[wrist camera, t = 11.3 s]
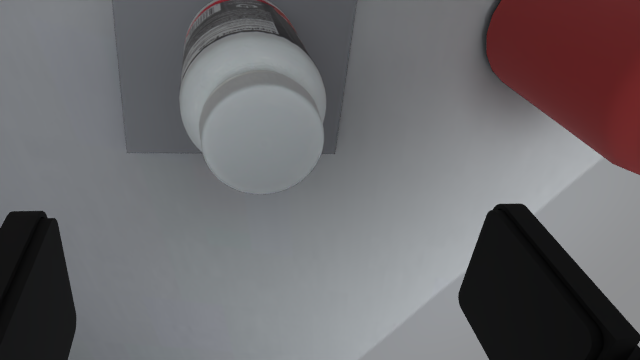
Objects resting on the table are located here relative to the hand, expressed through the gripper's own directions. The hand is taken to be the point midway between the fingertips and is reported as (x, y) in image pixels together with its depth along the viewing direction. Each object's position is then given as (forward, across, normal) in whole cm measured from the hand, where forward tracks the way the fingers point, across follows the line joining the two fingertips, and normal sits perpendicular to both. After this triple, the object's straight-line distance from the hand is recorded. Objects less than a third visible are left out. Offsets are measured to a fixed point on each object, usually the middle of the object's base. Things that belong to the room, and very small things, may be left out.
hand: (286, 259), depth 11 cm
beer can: (+17, -16, -1) cm, 23 cm away
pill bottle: (+16, 0, 0) cm, 16 cm away
